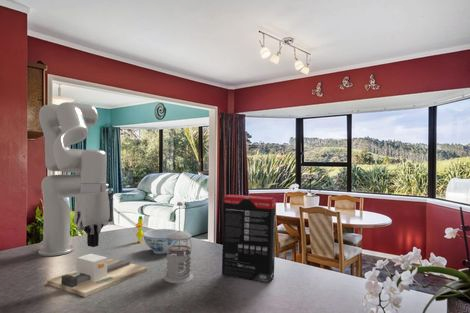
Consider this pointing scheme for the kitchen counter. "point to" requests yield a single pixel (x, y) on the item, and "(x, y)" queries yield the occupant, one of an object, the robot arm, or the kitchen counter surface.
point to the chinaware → (159, 240)
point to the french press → (178, 257)
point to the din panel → (85, 287)
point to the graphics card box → (249, 237)
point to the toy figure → (139, 226)
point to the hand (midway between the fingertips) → (92, 245)
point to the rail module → (92, 266)
